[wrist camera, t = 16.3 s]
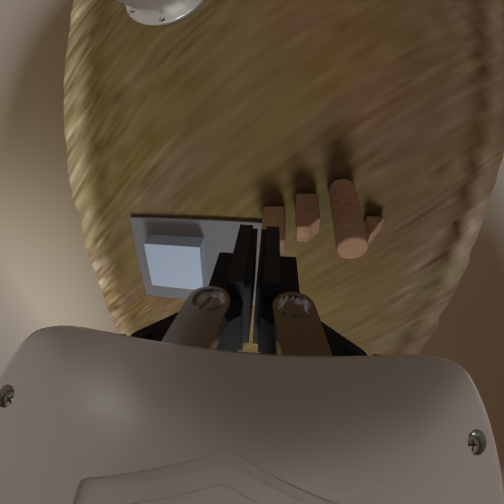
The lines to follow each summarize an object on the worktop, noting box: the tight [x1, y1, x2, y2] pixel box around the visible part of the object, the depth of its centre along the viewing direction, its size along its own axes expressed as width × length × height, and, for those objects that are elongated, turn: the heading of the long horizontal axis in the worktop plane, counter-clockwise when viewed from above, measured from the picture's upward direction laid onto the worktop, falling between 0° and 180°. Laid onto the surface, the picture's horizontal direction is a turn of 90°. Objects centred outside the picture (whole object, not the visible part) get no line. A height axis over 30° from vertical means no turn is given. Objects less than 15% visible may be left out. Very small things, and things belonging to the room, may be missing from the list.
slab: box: [144, 235, 207, 290], centre depth 43 cm, size 8×3×9 cm
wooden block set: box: [261, 179, 385, 259], centre depth 35 cm, size 18×9×10 cm, turn 94°
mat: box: [131, 216, 262, 306], centre depth 45 cm, size 16×22×1 cm
